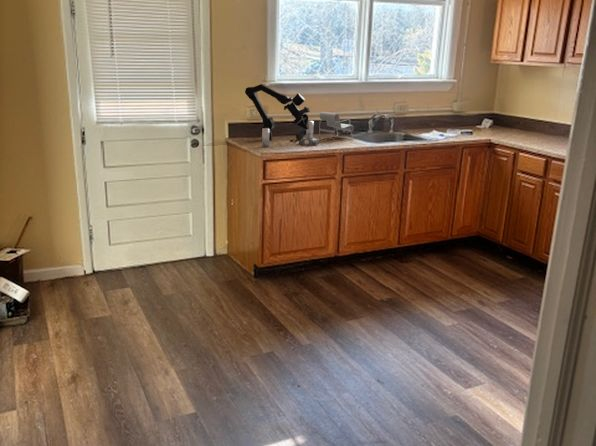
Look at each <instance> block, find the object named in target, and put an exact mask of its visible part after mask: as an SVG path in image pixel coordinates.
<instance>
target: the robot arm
mask: <svg viewBox="0 0 596 446" xmlns="http://www.w3.org/2000/svg"><path fill="white" fill-rule="evenodd" d="M258 92H263V93H265V94H267V95H269V96H271V97H272V98H275V99H276V100H277V101H278V102H279V103H280V104H281V105H284V106H283V110H284V111H285V110H286V111H287V110H288V111H289V113H290V114H291V116H292V117H293V118H294V120H293V123H294V124H295V125H296V126H298V127H301V128H302V127H303V128H305V129H308V128H307V121H309V117H310V116H309V114H308V113H310V108H309V106H304V107H303V109H301V108H298V107H300V106H302V104H303V103H304V102H305V101H306V99H305V97H304V96H303V95H302V94H300V93H299V92H298V93H296V94H295V96H294V97H290V96H289V95H287V94H284V93H281V92H278V91H276V90H274V89H272V88H270V87H268V86H266V85H265V84H264V83H260V84H258V85H255V86H249V87H246V88H245V89H244V94H246V97H248V99H250V101H252V103H253V105H254V107H255V108H256V110H257V112H258V114H259V116H260V118H261V120H262V125H263V126H262V127H261V128H260V131H261V132H262V128H270V137H269V142H270V141H272V140H273V133H272V132H273V129H274V128H275V127H276V123H275V122H276V121H275V119H273V117H272V116H269V115H268V114H267V112H266V110H265V108H264V106H263V104H262V103H261V101H260V99H259V96H258V95H259V94H258ZM260 141H262V138H261V139H260Z"/></svg>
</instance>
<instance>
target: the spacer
mask: <svg viewBox="0 0 596 446" xmlns="http://www.w3.org/2000/svg"><path fill="white" fill-rule="evenodd" d="M261 128H262V127H261ZM269 137H270V128H262V131H261V139H262V140H261V147H262V148H264V149H265V148H268V149H269V148H270V141H269Z"/></svg>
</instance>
